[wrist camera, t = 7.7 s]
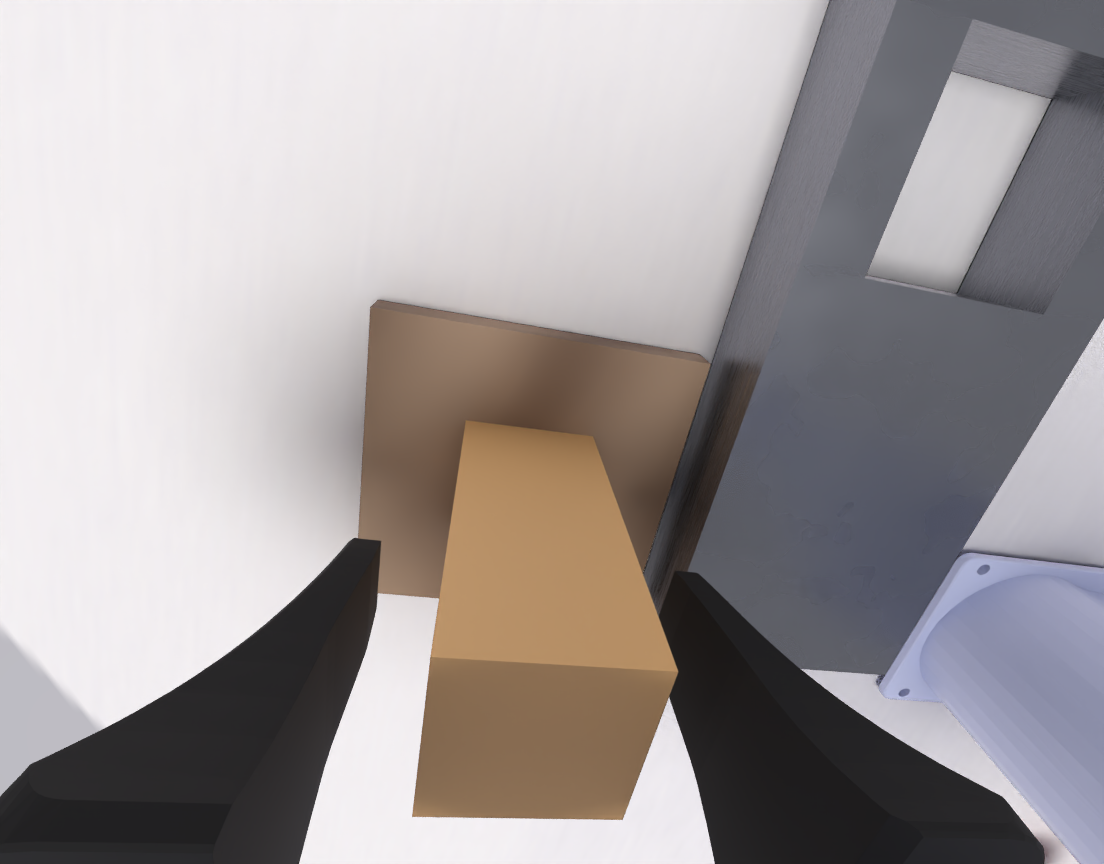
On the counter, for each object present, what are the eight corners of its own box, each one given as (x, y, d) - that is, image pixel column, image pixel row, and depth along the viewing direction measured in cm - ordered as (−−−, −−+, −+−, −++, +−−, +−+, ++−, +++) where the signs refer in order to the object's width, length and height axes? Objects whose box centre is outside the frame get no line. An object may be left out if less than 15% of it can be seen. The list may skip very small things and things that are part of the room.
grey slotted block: (1183, -32, 14) (1350, -85, 11) (838, 615, 23) (884, 675, 20) (875, -137, 12) (980, -227, 10) (635, 597, 21) (655, 658, 18)
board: (699, 354, 17) (710, 364, 16) (623, 596, 21) (629, 614, 20) (377, 299, 16) (370, 307, 15) (362, 572, 20) (355, 591, 19)
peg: (593, 436, 17) (678, 671, 9) (569, 540, 18) (622, 819, 10) (465, 420, 16) (430, 656, 8) (452, 528, 18) (411, 816, 10)
